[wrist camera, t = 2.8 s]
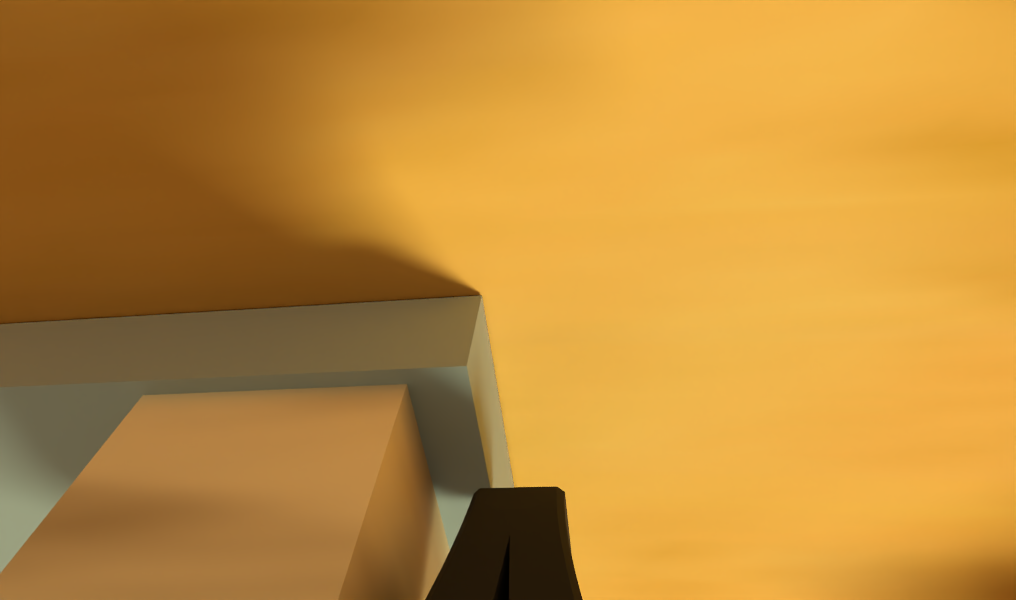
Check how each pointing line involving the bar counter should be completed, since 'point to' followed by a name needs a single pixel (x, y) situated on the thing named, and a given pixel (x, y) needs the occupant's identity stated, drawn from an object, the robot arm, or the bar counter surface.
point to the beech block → (245, 504)
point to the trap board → (244, 386)
